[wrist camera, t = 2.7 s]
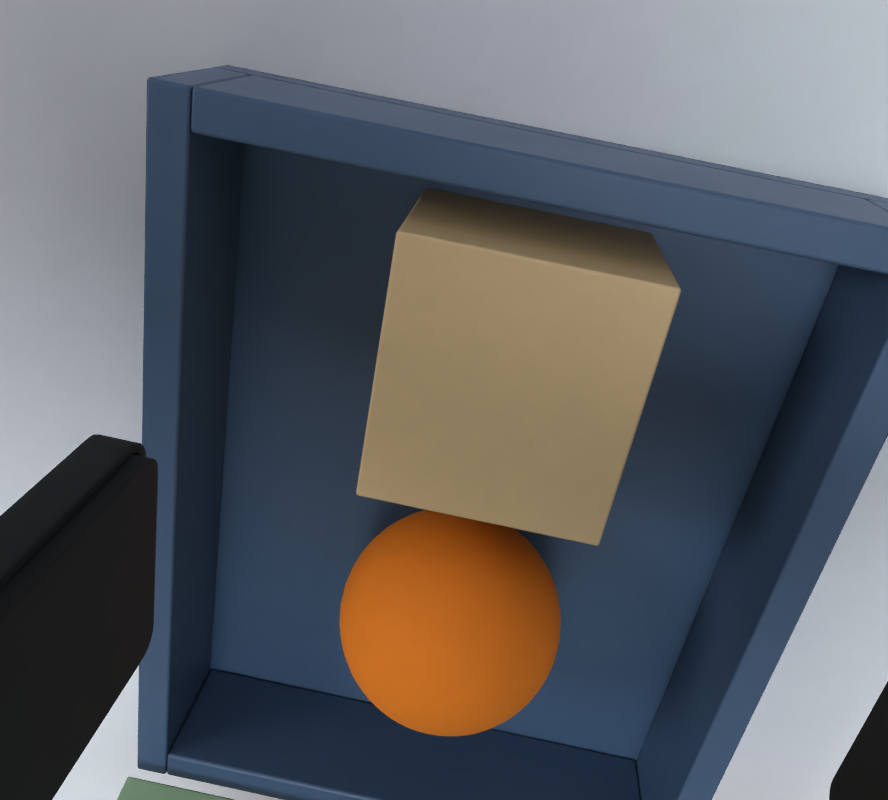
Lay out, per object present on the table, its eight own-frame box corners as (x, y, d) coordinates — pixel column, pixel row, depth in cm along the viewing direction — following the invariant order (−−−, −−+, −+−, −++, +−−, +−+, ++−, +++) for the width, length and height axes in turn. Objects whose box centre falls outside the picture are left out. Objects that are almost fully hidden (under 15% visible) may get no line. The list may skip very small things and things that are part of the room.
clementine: (377, 448, 20) (329, 577, 16) (580, 491, 20) (592, 632, 16) (352, 607, 23) (303, 760, 18) (533, 645, 23) (532, 810, 18)
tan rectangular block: (425, 186, 17) (396, 230, 14) (652, 232, 17) (682, 289, 14) (388, 409, 20) (355, 496, 16) (588, 451, 20) (599, 547, 16)
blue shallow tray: (225, 64, 18) (145, 77, 14) (889, 198, 17) (981, 245, 14) (193, 662, 25) (136, 769, 22) (652, 760, 25) (671, 885, 21)
